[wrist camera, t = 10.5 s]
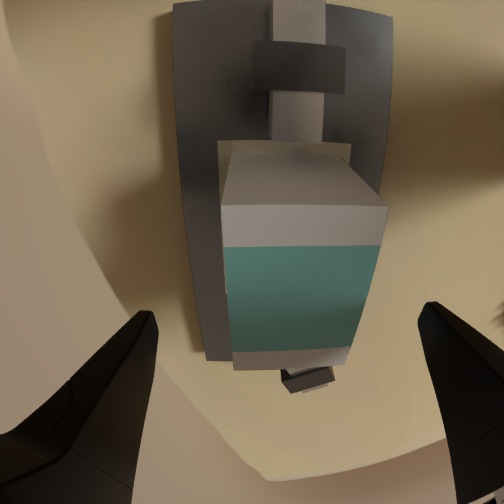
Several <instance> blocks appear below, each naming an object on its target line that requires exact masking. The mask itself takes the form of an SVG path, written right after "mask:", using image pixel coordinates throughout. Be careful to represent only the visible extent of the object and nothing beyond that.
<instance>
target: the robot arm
mask: <svg viewBox="0 0 504 504" xmlns="http://www.w3.org/2000/svg"><path fill="white" fill-rule="evenodd" d="M418 329H419V333H420V337H421V341H422V346H423V350H424V355H425V359H426V363H427V366H428V370H429V373H430V376H431V379H432V383H433V386H434V390H435V393H436V397H437V401H438V404H439V408H440V412H441V416H442V420H443V424H444V429H445V433H446V438H447V442H448V447H449V452H450V457H451V464H452V470H453V475H454V482H455V490H456V498H457V504H468V503H470V502H473V501H475V500H477V499H479V498H482V497H484V496H486V495H488V494H490V493H492V492H494V495H495V496H494V497H493V498H491V499H490V500H488V501H487V502H485V503H483V504H504V351H503V350H502V349H501V348H499V347H498V346H497V345H495V344H494V343H493V342H492V341H490V340H489V339H488V338H486V337H485V336H484V335H482V334H481V333H480V332H478V331H477V330H476V329H474V328H473V327H472V326H470V325H469V324H467V323H466V322H465V321H463V320H462V319H461V318H459V317H458V316H456V315H455V314H454V313H452V312H451V311H450V310H448V309H447V308H445V307H444V306H442V305H441V304H440V303H438V302H436V301H433V302H427V303H426V304H425V305H424V307H423V309H422V312H421V314H420V316H419V318H418ZM158 336H159V331H158V327H157V323H156V320H155V317H154V314H153V312H152V311H148V310H140V311H138V312H137V313H136V314H135V315H134V316H133V317H132V318H131V319H130V320H129V321H128V322H127V323H126V324H125V325H124V326H123V327H122V328H121V329H120V330H118V331H117V332H116V333H115V334H114V335H113V336H112V337H111V338H110V339H109V340H108V341H107V342H106V343H105V344H104V345H103V346H102V347H101V348H100V349H99V350H98V351H97V352H96V353H95V354H94V355H93V356H92V357H91V358H90V359H89V360H88V361H87V362H86V363H85V364H84V365H83V366H82V367H81V368H80V369H79V370H78V371H77V372H76V373H75V374H74V375H73V376H72V377H71V378H70V380H68V381H67V382H66V383H65V384H64V385H63V386H62V387H61V388H60V389H59V390H58V391H57V392H56V393H55V394H54V395H53V396H52V397H51V398H49V399H48V400H47V401H46V402H45V403H44V404H43V405H41V406H40V407H39V408H38V409H37V410H36V411H34V412H33V413H32V414H31V415H30V416H29V417H27V418H26V419H25V420H24V421H23V422H21V423H20V424H19V425H18V426H17V427H15V428H14V429H13V430H11V431H9V432H7V433H4V434H1V435H0V504H131V501H132V493H133V490H132V489H133V486H134V479H135V473H136V466H137V460H138V455H139V448H140V443H141V438H142V432H143V427H144V422H145V416H146V411H147V407H148V402H149V397H150V393H151V388H152V383H153V378H154V371H155V362H156V353H157V344H158Z"/></svg>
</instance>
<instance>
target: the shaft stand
mask: <svg viewBox="0 0 504 504" xmlns="http://www.w3.org/2000/svg"><path fill="white" fill-rule="evenodd" d="M392 59H393V17H390V16H386V15H382V14H378V13H374V12H370V11H365V10H360V9H356V8H350V7H345V6H339V5H333V4H326V3H325V0H201V1H192V2H183V3H176V4H173V73H174V97H175V116H176V131H177V145H178V157H179V169H180V180H181V190H182V199H183V208H184V217H185V226H186V234H187V242H188V249H189V257H190V264H191V271H192V278H193V284H194V291H195V297H196V303H197V309H198V315H199V321H200V327H201V333H202V338H203V344H204V349H205V354H206V360H207V361H233V357H232V346H231V335H230V324H229V312H228V300H227V287H226V274H225V261H224V246H223V231H222V215H221V202H222V197H223V192H224V187H225V182H226V177H227V173H228V168H229V163H230V158H231V154H232V153H245V152H285V153H319V154H337V155H338V156H339V157H340V158H341V159H342V160H343V161H344V162H345V163H346V164H347V165H348V166H349V167H350V168H351V169H352V170H353V171H355V172H356V173H357V174H358V175H359V176H360V177H361V178H362V179H363V180H364V181H365V182H366V183H367V184H368V185H369V186H370V187H371V188H372V189H373V190H374V191H375V192H376V194H377V195H378V194H379V188H380V182H381V176H382V169H383V162H384V155H385V147H386V139H387V130H388V121H389V110H390V98H391V82H392ZM280 370H281V381H282V383H283V384H284V386H285V387H286V388H287V389H288V391H289V392H290V393H295V392H299V391H302V392H303V393H305V392H309V391H312V390H316V389H319V388H322V387H326V386H328V384H327V383H329V382H332V381H335V377H334V373H333V369H332V366H326V367H314V368H299V369H280Z"/></svg>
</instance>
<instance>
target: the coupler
mask: <svg viewBox="0 0 504 504" xmlns="http://www.w3.org/2000/svg"><path fill="white" fill-rule="evenodd" d="M388 210H389V206H388V205H387V204H386V203H385V202H384V201H383V200H382V199H381V198H380V197H379V196H378V195H377V194H376V192H375V191H374V190H373V189H372V188H371V187H370V186H369V185H368V184H367V183H366V182H365V181H364V180H363V179H362V178H361V177H360V176H359V175H358V174H357V173H356V172H355V171H353V170H352V169H351V168H350V167H349V166H348V165H347V164H346V163H345V162H344V161H343V160H342V159H341V158H340V157H339V156H338V155H337V154H319V153H285V152H245V153H232V154H231V158H230V163H229V168H228V173H227V177H226V182H225V187H224V192H223V197H222V202H221V215H222V231H223V246H224V261H225V274H226V287H227V300H228V312H229V324H230V335H231V346H232V357H233V367H234V370H279V369H299V368H314V367H326V366H337V365H344V364H345V361H346V359H347V356H348V353H349V350H350V348H351V345H352V342H353V339H354V336H355V333H356V330H357V327H358V324H359V321H360V318H361V315H362V312H363V308H364V305H365V302H366V298H367V295H368V292H369V288H370V285H371V281H372V277H373V274H374V270H375V266H376V262H377V258H378V254H379V250H380V246H381V242H382V238H383V233H384V229H385V224H386V220H387V215H388Z"/></svg>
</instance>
